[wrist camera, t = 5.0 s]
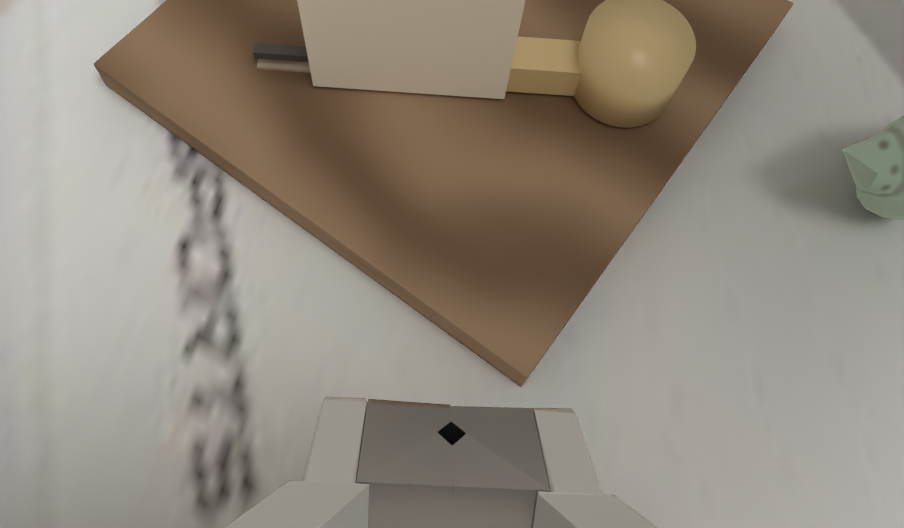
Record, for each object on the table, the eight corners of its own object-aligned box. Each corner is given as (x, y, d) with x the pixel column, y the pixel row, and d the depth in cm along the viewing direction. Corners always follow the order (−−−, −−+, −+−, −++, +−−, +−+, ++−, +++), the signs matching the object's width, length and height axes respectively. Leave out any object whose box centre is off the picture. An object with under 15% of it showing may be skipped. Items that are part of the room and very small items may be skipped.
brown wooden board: (414, -188, 40) (414, -218, 39) (778, 25, 37) (795, 1, 35) (106, 85, 33) (92, 61, 32) (521, 386, 29) (527, 376, 28)
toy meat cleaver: (667, 45, 34) (730, -81, 27) (674, 131, 32) (743, 19, 25) (263, 16, 33) (229, -120, 26) (249, 102, 31) (208, -20, 25)
